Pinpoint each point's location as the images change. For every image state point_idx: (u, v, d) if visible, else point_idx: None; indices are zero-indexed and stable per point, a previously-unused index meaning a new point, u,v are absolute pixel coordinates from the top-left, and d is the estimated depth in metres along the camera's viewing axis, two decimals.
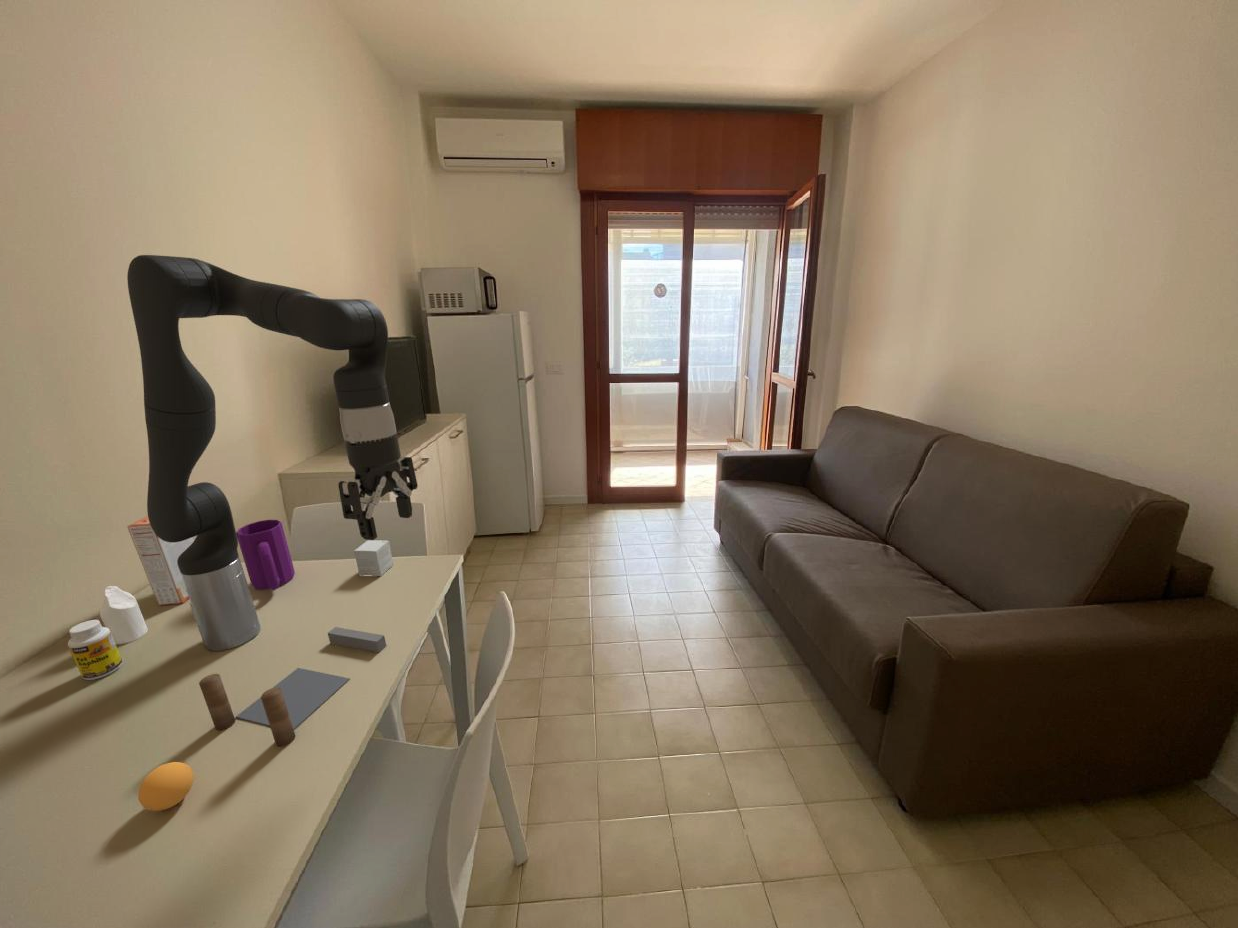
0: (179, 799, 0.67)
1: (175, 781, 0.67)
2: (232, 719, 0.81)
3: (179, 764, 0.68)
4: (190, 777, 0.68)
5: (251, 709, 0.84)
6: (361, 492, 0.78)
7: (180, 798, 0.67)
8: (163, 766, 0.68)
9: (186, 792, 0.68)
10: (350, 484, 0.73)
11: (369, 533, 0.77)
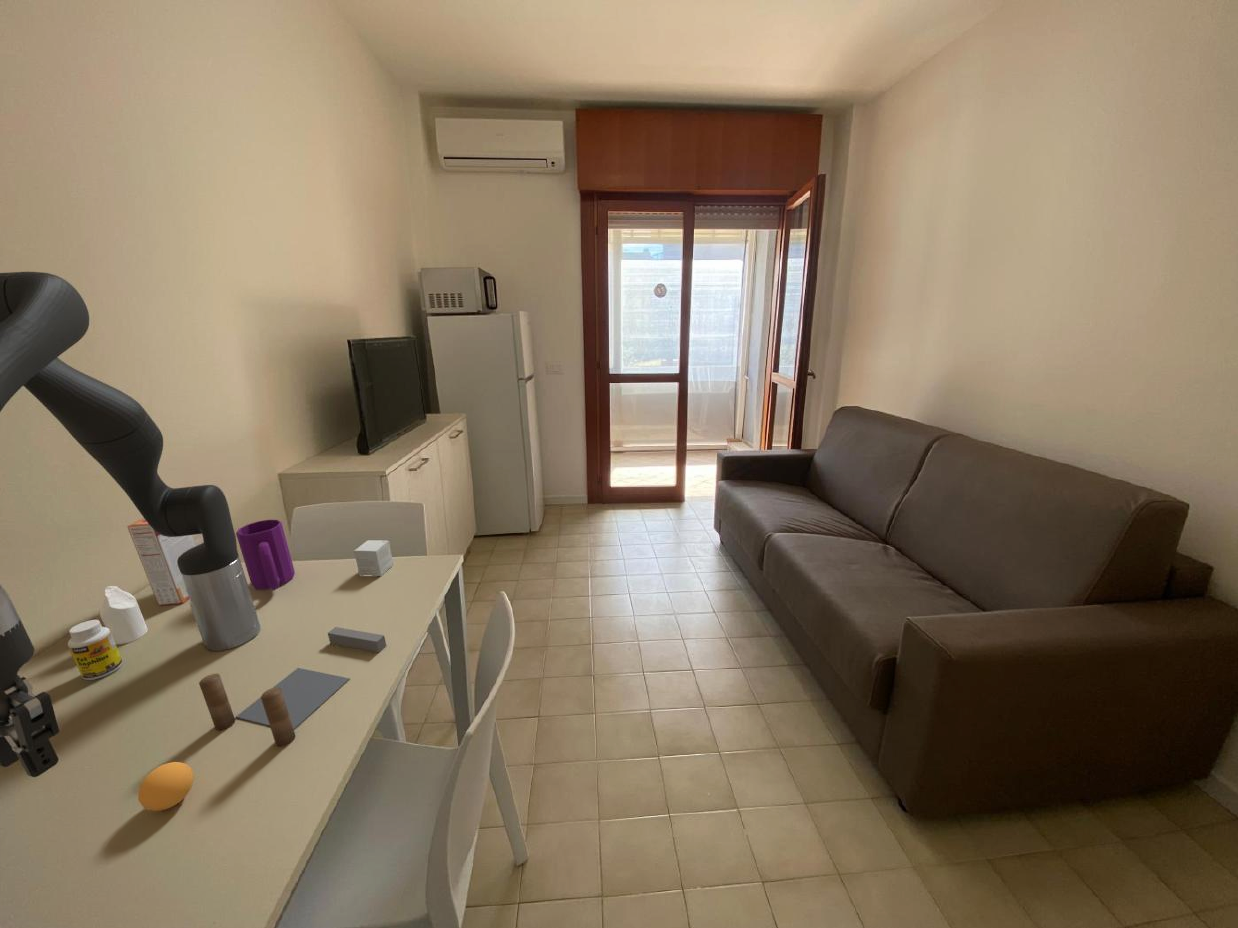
0: (179, 799, 0.67)
1: (175, 781, 0.67)
2: (232, 719, 0.81)
3: (179, 764, 0.68)
4: (190, 777, 0.68)
5: (251, 709, 0.84)
6: None
7: (180, 798, 0.67)
8: (163, 766, 0.68)
9: (186, 792, 0.68)
10: (44, 698, 0.51)
11: (52, 756, 0.54)
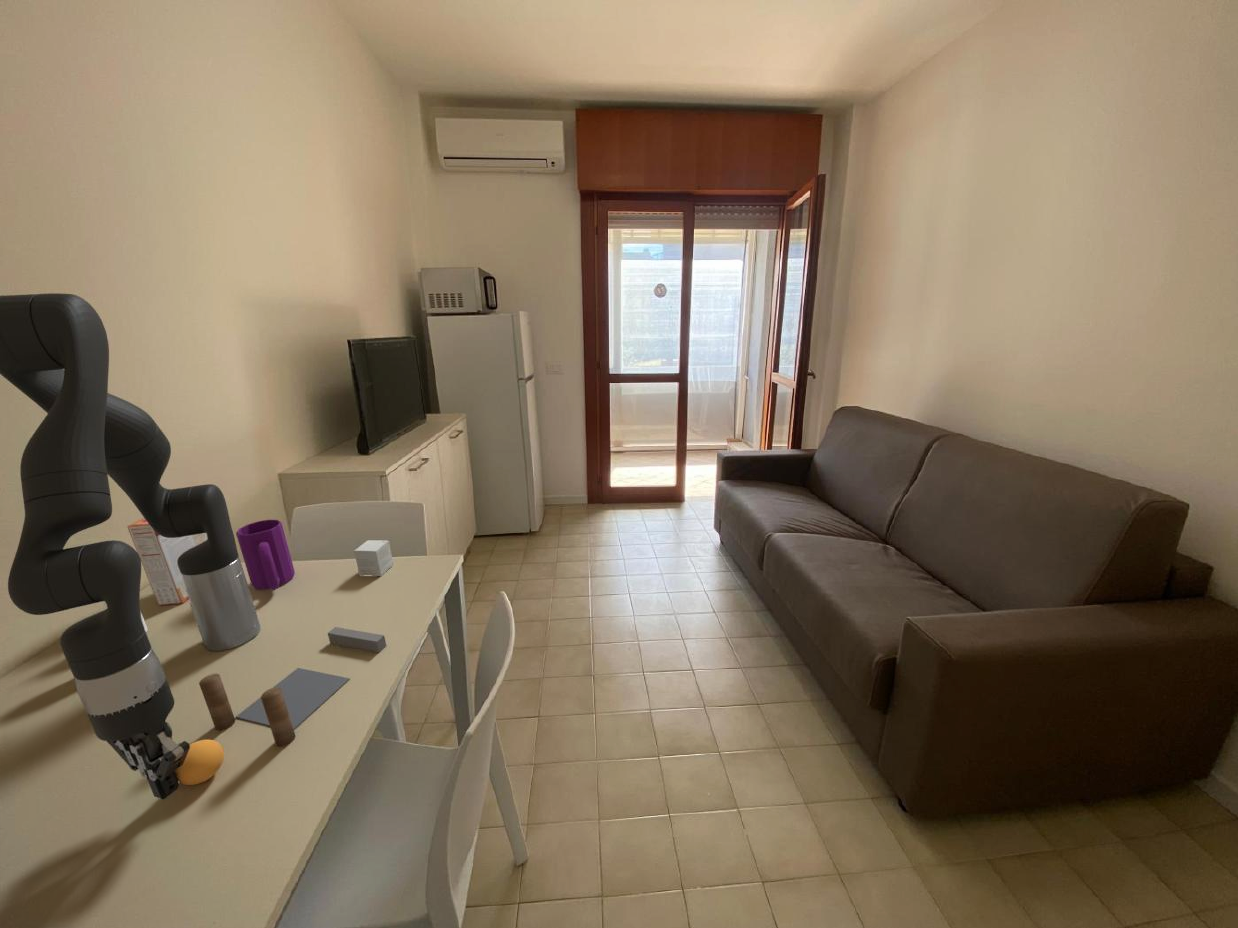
0: (201, 776, 0.69)
1: (219, 755, 0.71)
2: (232, 719, 0.81)
3: None
4: (219, 767, 0.72)
5: (251, 709, 0.84)
6: None
7: (202, 776, 0.69)
8: None
9: (207, 776, 0.70)
10: (186, 747, 0.65)
11: (175, 782, 0.68)
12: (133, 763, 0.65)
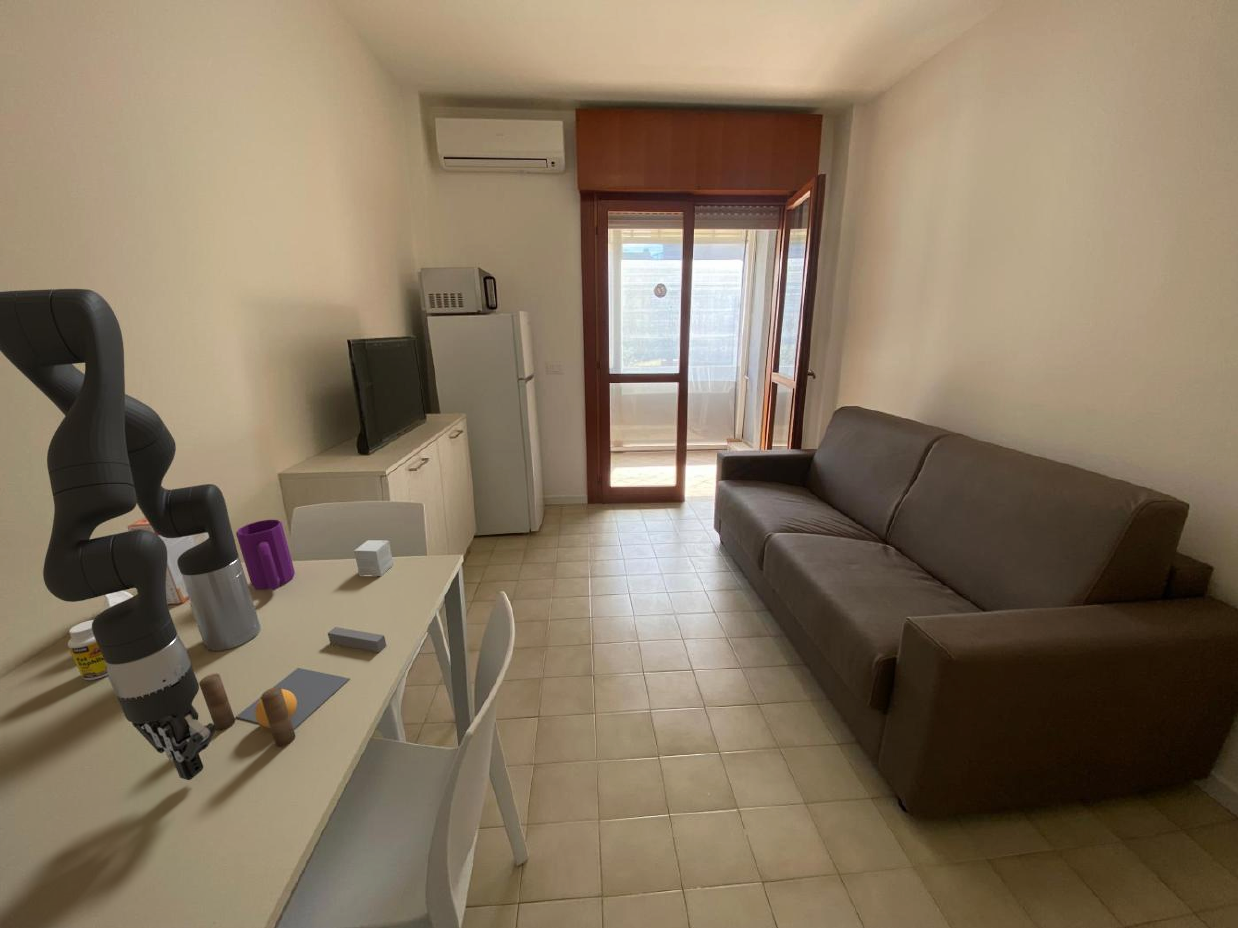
0: (293, 709, 0.80)
1: None
2: (232, 719, 0.81)
3: None
4: None
5: (251, 709, 0.84)
6: None
7: (292, 709, 0.80)
8: (256, 712, 0.78)
9: (291, 704, 0.80)
10: (212, 729, 0.67)
11: None
12: (160, 745, 0.67)
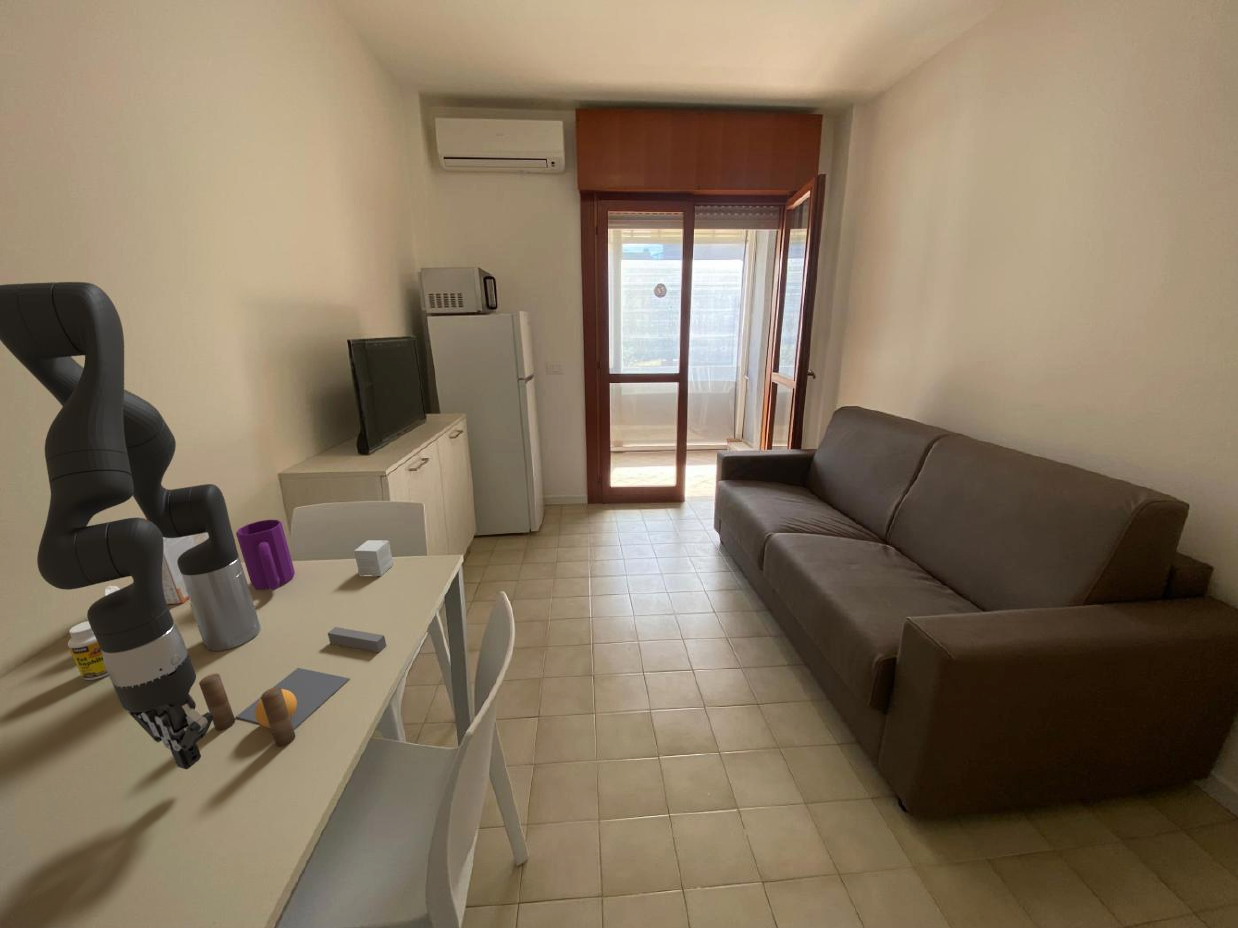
0: (293, 709, 0.80)
1: None
2: (232, 719, 0.81)
3: None
4: None
5: (251, 709, 0.84)
6: None
7: (292, 709, 0.80)
8: (256, 712, 0.78)
9: (291, 704, 0.80)
10: (210, 718, 0.67)
11: None
12: (157, 734, 0.67)
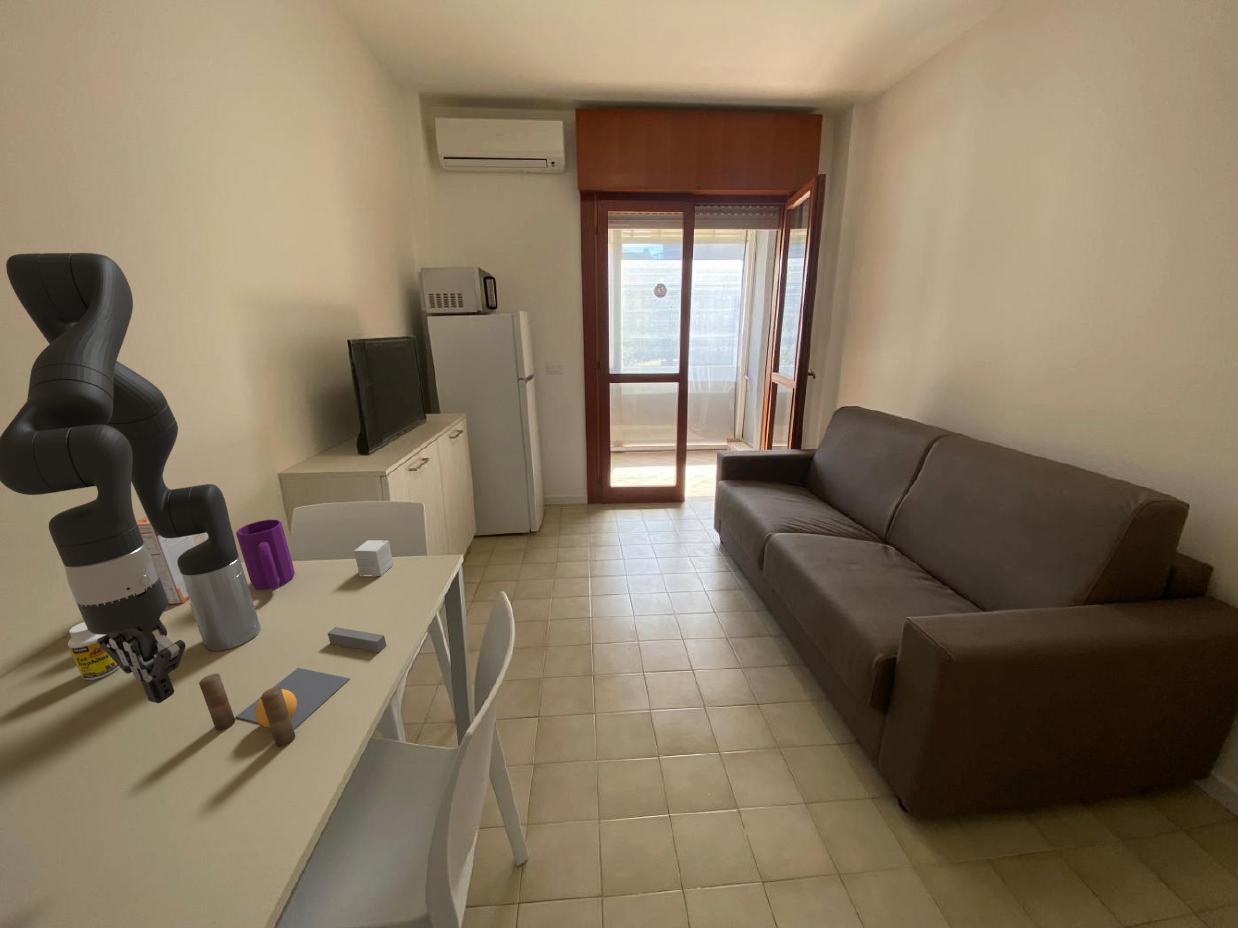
0: (293, 709, 0.80)
1: None
2: (232, 719, 0.81)
3: None
4: None
5: (251, 709, 0.84)
6: None
7: (292, 709, 0.80)
8: (256, 712, 0.78)
9: (291, 704, 0.80)
10: (182, 646, 0.63)
11: (170, 687, 0.67)
12: (126, 663, 0.63)
